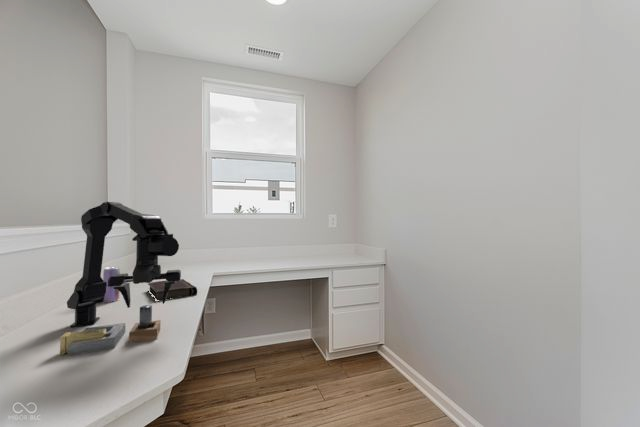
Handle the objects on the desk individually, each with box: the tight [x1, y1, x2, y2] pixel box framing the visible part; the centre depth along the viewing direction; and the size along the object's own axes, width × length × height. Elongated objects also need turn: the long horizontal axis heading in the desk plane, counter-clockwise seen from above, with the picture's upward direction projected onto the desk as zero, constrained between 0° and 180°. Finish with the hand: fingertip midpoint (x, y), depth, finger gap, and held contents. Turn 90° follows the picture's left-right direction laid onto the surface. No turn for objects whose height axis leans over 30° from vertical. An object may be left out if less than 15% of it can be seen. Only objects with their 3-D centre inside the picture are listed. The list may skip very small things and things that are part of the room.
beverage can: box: [102, 266, 121, 303], centre depth 122 cm, size 6×6×15 cm
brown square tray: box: [128, 319, 161, 344], centre depth 83 cm, size 8×7×3 cm
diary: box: [147, 278, 198, 300], centre depth 135 cm, size 19×25×5 cm
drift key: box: [59, 328, 106, 356], centre depth 74 cm, size 3×9×5 cm, turn 114°
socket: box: [67, 322, 126, 356], centre depth 78 cm, size 12×10×3 cm
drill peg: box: [138, 304, 153, 329], centre depth 83 cm, size 3×3×9 cm
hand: (146, 305), depth 83 cm, fingers open, 9 cm apart
